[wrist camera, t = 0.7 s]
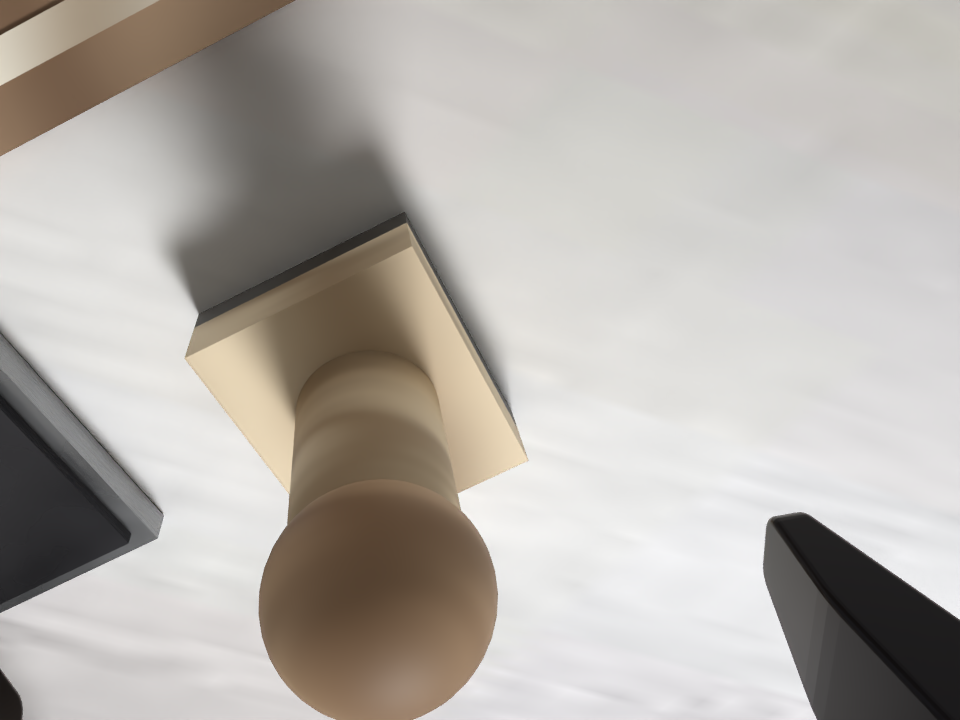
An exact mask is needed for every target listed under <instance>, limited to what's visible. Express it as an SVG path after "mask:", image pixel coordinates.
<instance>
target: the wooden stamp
mask: <svg viewBox="0 0 960 720" xmlns="http://www.w3.org/2000/svg"><path fill="white" fill-rule="evenodd" d="M185 360H186V361H187V362H188V364H189V365H190V366H191V367H192V369H193V370H194V371H195V373H196V374H197V375H198V377H199V378H200V379H201V380H202V382H203V383H204V384H205V386H206V387H207V388H208V390H209V391H210V392H211V393H212V395H213V396H214V397H215V399H216V400H217V401H218V403H219V404H220V405H221V406H222V408H223V409H224V410H225V412H226V413H227V414H228V416H229V417H230V418H231V419H232V421H233V422H234V423H235V425H236V426H237V427H238V429H239V430H240V431H241V432H242V434H243V435H244V436H245V438H246V439H247V440H248V441H249V443H250V444H251V445H252V447H253V448H254V449H255V451H256V452H257V453H258V454H259V456H260V457H261V458H262V460H263V461H264V462H265V464H266V465H267V466H268V467H269V469H270V470H271V471H272V473H273V474H274V475H275V477H276V478H277V479H278V480H279V482H280V483H281V484H282V486H283V487H284V488H285V490H286V491H287V492H288V493H289V495H290V496H289V509H288V522H287V526H286V528H285V529H284V531H283V532H282V534H281V535H280V537H279V538H278V540H277V541H276V543H275V545H274V546H273V548H272V551H271V553H270V556H269V558H268V561H267V563H266V565H265V568H264V572H263V576H262V581H261V586H260V591H259V620H260V627H261V633H262V638H263V641H264V644H265V647H266V650H267V653H268V655H269V658H270V660H271V662H272V664H273V665H274V667H275V669H276V671H277V672H278V674H279V676H280V677H281V679H282V680H283V681H284V682H285V684H286V685H287V686H288V687H289V688H290V689H291V690H292V691H293V692H294V693H295V694H296V695H297V696H298V697H299V698H300V699H301V700H302V701H303V702H305V703H306V704H308V705H309V706H311V707H312V708H314V709H315V710H317V711H318V712H320V713H322V714H324V715H326V716H328V717H331V718H333V719H336V720H413V719H416V718H418V717H421V716H423V715H425V714H427V713H429V712H431V711H433V710H434V709H436V708H438V707H439V706H441V705H442V704H444V703H445V702H447V701H448V700H449V699H450V698H452V697H453V696H454V695H455V694H456V693H457V692H458V691H459V690H460V689H461V688H462V687H463V686H464V685H465V684H466V683H467V682H468V680H469V679H470V678H471V676H472V675H473V674H474V672H475V671H476V669H477V668H478V666H479V664H480V663H481V661H482V659H483V658H484V655H485V653H486V650H487V648H488V645H489V643H490V641H491V638H492V634H493V630H494V626H495V621H496V616H497V599H498V591H497V583H496V576H495V570H494V567H493V563H492V560H491V557H490V554H489V551H488V549H487V547H486V545H485V543H484V541H483V539H482V537H481V535H480V534H479V532H478V530H477V529H476V528H475V526H474V525H473V524H472V522H471V521H470V520H469V519H468V518H467V516H466V515H465V514H464V513H463V512H462V511H461V509H460V504H459V499H458V494H457V493H459V492H462V491H464V490H466V489H468V488H470V487H472V486H474V485H477V484H479V483H481V482H483V481H485V480H487V479H490V478H492V477H494V476H496V475H498V474H500V473H503V472H505V471H507V470H509V469H511V468H513V467H516V466H518V465H520V464H522V463H524V462H526V461H528V458H527V455H526V452H525V449H524V446H523V443H522V440H521V438H520V435H519V432H518V429H517V426H516V423H515V420H514V417H513V414H512V412H511V410H510V408H509V406H508V404H507V403H506V401H505V399H504V397H503V395H502V393H501V391H500V390H499V388H498V386H497V384H496V382H495V380H494V378H493V376H492V375H491V373H490V371H489V369H488V367H487V365H486V363H485V361H484V360H483V358H482V356H481V354H480V352H479V350H478V348H477V347H476V345H475V343H474V341H473V339H472V337H471V335H470V333H469V332H468V330H467V328H466V326H465V324H464V322H463V320H462V318H461V317H460V315H459V313H458V311H457V309H456V307H455V305H454V304H453V302H452V300H451V298H450V296H449V294H448V292H447V290H446V289H445V287H444V285H443V283H442V281H441V279H440V277H439V275H438V274H437V272H436V270H435V268H434V266H433V264H432V262H431V261H430V259H429V257H428V255H427V253H426V251H425V249H424V247H423V246H422V244H421V242H420V240H419V238H418V236H417V234H416V233H415V231H414V229H413V227H412V225H411V223H410V221H409V219H408V218H407V216H406V214H405V212H404V213H402V214H400V215H398V216H396V217H394V218H392V219H390V220H388V221H386V222H384V223H382V224H380V225H378V226H376V227H374V228H372V229H370V230H368V231H366V232H364V233H362V234H360V235H358V236H355V237H353V238H351V239H349V240H347V241H345V242H343V243H341V244H339V245H337V246H335V247H333V248H331V249H329V250H327V251H325V252H323V253H321V254H319V255H317V256H315V257H313V258H311V259H309V260H307V261H305V262H303V263H301V264H299V265H297V266H295V267H293V268H291V269H289V270H287V271H285V272H283V273H281V274H279V275H277V276H275V277H273V278H271V279H269V280H267V281H265V282H263V283H261V284H259V285H257V286H255V287H253V288H251V289H249V290H247V291H245V292H243V293H241V294H239V295H237V296H235V297H233V298H231V299H229V300H227V301H225V302H223V303H221V304H219V305H217V306H215V307H213V308H211V309H209V310H207V311H205V312H203V313H201V314H199V316H198V319H197V322H196V325H195V328H194V331H193V334H192V337H191V340H190V343H189V346H188V349H187V352H186V355H185Z"/></svg>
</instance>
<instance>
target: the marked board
mask: <svg viewBox="0 0 960 720" xmlns="http://www.w3.org/2000/svg"><path fill="white" fill-rule="evenodd" d="M293 1H295V0H0V156H2V155H3V154H5V153H7V152H9V151H11V150H13V149H15V148H17V147H19V146H21V145H22V144H24V143H26V142H28V141H30V140H32V139H34V138H36V137H38V136H39V135H41V134H43V133H45V132H47V131H49V130H51V129H53V128H55V127H56V126H58V125H60V124H62V123H64V122H66V121H68V120H70V119H72V118H74V117H75V116H77V115H79V114H81V113H83V112H85V111H87V110H89V109H91V108H92V107H94V106H96V105H98V104H100V103H102V102H104V101H106V100H108V99H110V98H111V97H113V96H115V95H117V94H119V93H121V92H123V91H125V90H127V89H128V88H130V87H132V86H134V85H136V84H138V83H140V82H142V81H144V80H145V79H147V78H149V77H151V76H153V75H155V74H157V73H159V72H161V71H163V70H164V69H166V68H168V67H170V66H172V65H174V64H176V63H178V62H180V61H181V60H183V59H185V58H187V57H189V56H191V55H193V54H195V53H197V52H198V51H200V50H202V49H204V48H206V47H208V46H210V45H212V44H214V43H216V42H217V41H219V40H221V39H223V38H225V37H227V36H229V35H231V34H233V33H234V32H236V31H238V30H240V29H242V28H244V27H246V26H248V25H250V24H252V23H253V22H255V21H257V20H259V19H261V18H263V17H265V16H267V15H269V14H270V13H272V12H274V11H276V10H278V9H280V8H282V7H284V6H286V5H287V4H289V3H291V2H293Z"/></svg>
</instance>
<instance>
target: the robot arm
mask: <svg viewBox="0 0 960 720" xmlns="http://www.w3.org/2000/svg"><path fill="white" fill-rule="evenodd" d="M763 572H764V578H765V582H766V585H767V588H768V591H769V594H770V596H771V599H772V602H773V605H774V607H775V610H776V613H777V616H778V618H779V621H780V624H781V626H782V629H783V632H784V635H785V637H786V640H787V643H788V646H789V648H790V651H791V654H792V657H793V659H794V662H795V665H796V667H797V670H798V673H799V676H800V678H801V681H802V684H803V687H804V689H805V692H806V694H807V697H808V699H809V702H810V705H811V707H812V710H813V712H814V714H815V716H816V718H817V720H960V620H959V619H958V618H956V617H955V616H954V615H952V614H951V613H949V612H948V611H946V610H945V609H944V608H942V607H941V606H939V605H938V604H936V603H935V602H934V601H932V600H931V599H929V598H928V597H926V596H925V595H923V594H922V593H921V592H919V591H918V590H916V589H915V588H913V587H912V586H911V585H909V584H908V583H906V582H905V581H903V580H902V579H901V578H899V577H898V576H896V575H895V574H893V573H892V572H891V571H889V570H888V569H886V568H885V567H883V566H882V565H880V564H879V563H878V562H876V561H875V560H873V559H872V558H870V557H869V556H868V555H866V554H865V553H863V552H862V551H860V550H859V549H858V548H856V547H855V546H853V545H852V544H850V543H849V542H847V541H846V540H845V539H843V538H842V537H840V536H839V535H837V534H836V533H835V532H833V531H832V530H830V529H829V528H827V527H826V526H825V525H823V524H822V523H820V522H819V521H817V520H816V519H814V518H813V517H812V516H810V515H808V514H806V513H802V512H797V513H791V514H785V515H780V516H774V517H772V518H770V519H769V521H768V522H767V526H766V536H765V548H764V560H763ZM22 716H23V707H22V701H21V698H20V695H19V694H18V692H17V691H16V689H15V688H14V687H13V685H12V684H11V683H10V681H9V680H8V678H7V677H6V676H5V674H4V673H3V672H2V670H1V669H0V720H22Z"/></svg>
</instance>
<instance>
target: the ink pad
mask: <svg viewBox="0 0 960 720" xmlns="http://www.w3.org/2000/svg"><path fill="white" fill-rule="evenodd" d="M163 517H164V515H163V514H162V513H161V512H160V511H159V510H158V508H157V507H156V506H155V505H154V504H153V503H152V502H151V501H150V500H149V498H148V497H147V496H146V495H145V494H144V493H143V492H142V491H141V490H140V488H139V487H138V486H137V485H136V484H135V483H134V482H133V481H132V479H131V478H130V477H129V476H128V475H127V474H126V473H125V472H124V471H123V469H122V468H121V467H120V466H119V465H118V464H117V463H116V462H115V461H114V459H113V458H112V457H111V456H110V455H109V454H108V453H107V452H106V450H105V449H104V448H103V447H102V446H101V445H100V444H99V443H98V442H97V440H96V439H95V438H94V437H93V436H92V435H91V434H90V433H89V432H88V430H87V429H86V428H85V427H84V426H83V425H82V424H81V423H80V422H79V420H78V419H77V418H76V417H75V416H74V415H73V414H72V413H71V411H70V410H69V409H68V408H67V407H66V406H65V405H64V404H63V403H62V401H61V400H60V399H59V398H58V397H57V396H56V395H55V394H54V393H53V391H52V390H51V389H50V388H49V387H48V386H47V385H46V384H45V382H44V381H43V380H42V379H41V378H40V377H39V376H38V375H37V374H36V372H35V371H34V370H33V369H32V368H31V367H30V366H29V365H28V364H27V362H26V361H25V360H24V359H23V358H22V357H21V356H20V355H19V353H18V352H17V351H16V350H15V349H14V348H13V347H12V346H11V345H10V343H9V342H8V341H7V340H6V339H5V338H4V337H3V336H2V335H1V333H0V613H1V612H3V611H5V610H7V609H9V608H12V607H14V606H16V605H18V604H20V603H22V602H24V601H26V600H28V599H31V598H33V597H35V596H37V595H39V594H41V593H43V592H45V591H47V590H50V589H52V588H54V587H56V586H58V585H60V584H62V583H64V582H66V581H69V580H71V579H73V578H75V577H77V576H79V575H81V574H83V573H86V572H88V571H90V570H92V569H94V568H96V567H98V566H100V565H102V564H105V563H107V562H109V561H111V560H113V559H115V558H117V557H119V556H121V555H124V554H126V553H128V552H130V551H132V550H134V549H136V548H138V547H140V546H143V545H145V544H147V543H149V542H151V541H153V540H155V539H157V538H158V535H159V532H160V528H161V524H162V521H163Z"/></svg>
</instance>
